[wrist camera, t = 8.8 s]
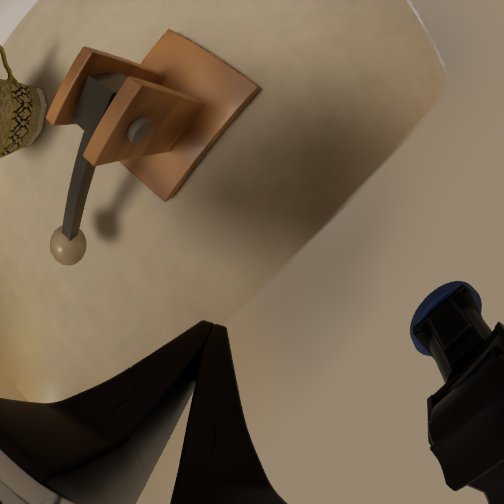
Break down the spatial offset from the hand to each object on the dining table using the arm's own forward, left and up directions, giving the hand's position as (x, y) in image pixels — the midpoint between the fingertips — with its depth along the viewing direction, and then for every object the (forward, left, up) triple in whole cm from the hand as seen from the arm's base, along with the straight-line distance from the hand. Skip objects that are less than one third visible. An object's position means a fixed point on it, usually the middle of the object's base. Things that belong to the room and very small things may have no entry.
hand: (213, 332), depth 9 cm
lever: (+11, +4, -8) cm, 14 cm away
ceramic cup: (+28, +6, -13) cm, 32 cm away
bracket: (+11, -2, -13) cm, 17 cm away
